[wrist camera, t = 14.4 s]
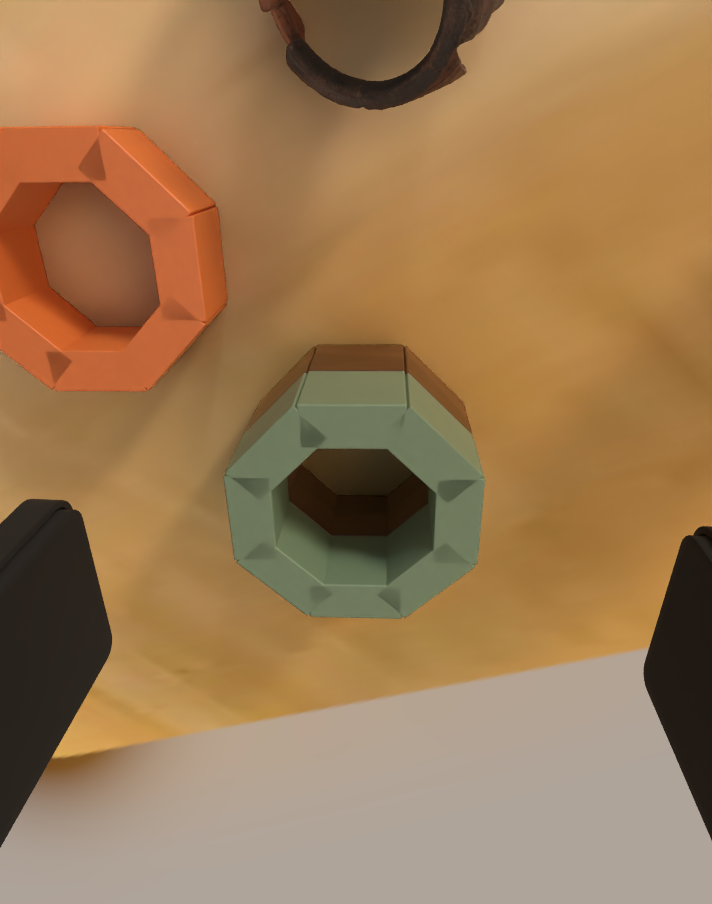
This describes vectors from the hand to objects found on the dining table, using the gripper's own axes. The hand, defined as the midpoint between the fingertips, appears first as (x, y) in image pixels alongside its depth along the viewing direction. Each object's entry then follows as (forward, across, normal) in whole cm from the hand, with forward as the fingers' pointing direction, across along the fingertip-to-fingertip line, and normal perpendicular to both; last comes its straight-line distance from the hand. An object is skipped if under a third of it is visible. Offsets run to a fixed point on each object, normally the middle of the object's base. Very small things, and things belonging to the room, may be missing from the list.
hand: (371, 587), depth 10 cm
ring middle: (+18, +2, +9) cm, 20 cm away
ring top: (+22, +14, -1) cm, 26 cm away
